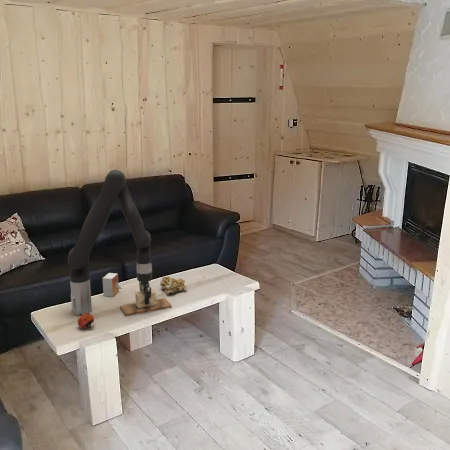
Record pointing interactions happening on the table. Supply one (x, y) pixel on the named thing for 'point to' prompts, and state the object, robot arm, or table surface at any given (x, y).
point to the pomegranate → (85, 320)
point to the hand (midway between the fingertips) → (145, 301)
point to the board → (133, 309)
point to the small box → (110, 284)
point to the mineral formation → (172, 284)
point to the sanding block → (141, 299)
